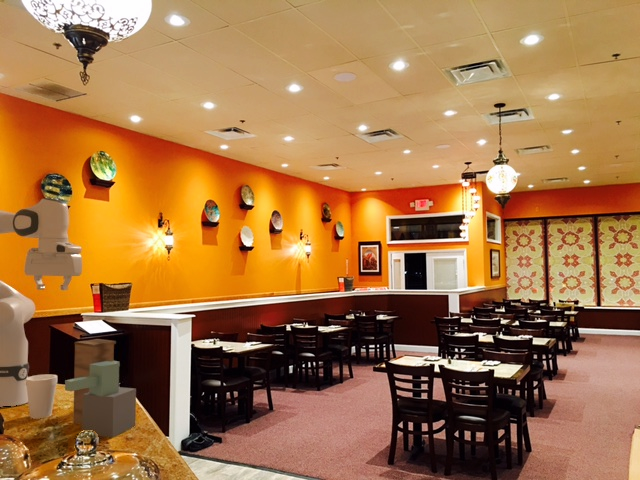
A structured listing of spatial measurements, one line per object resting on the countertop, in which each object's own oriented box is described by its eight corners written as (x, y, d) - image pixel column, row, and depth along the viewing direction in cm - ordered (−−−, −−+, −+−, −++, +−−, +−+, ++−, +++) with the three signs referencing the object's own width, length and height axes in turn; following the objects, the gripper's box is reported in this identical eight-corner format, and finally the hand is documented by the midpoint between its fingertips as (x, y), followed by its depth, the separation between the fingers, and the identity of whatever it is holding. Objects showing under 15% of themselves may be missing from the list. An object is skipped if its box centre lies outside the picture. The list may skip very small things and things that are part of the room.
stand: (91, 427, 167) (93, 344, 168) (72, 422, 172) (74, 342, 173) (114, 420, 175) (116, 341, 176) (95, 415, 180) (97, 338, 181)
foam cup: (49, 410, 186) (50, 373, 186) (61, 415, 180) (62, 377, 180) (20, 416, 179) (21, 377, 179) (31, 422, 172) (32, 381, 173)
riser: (81, 434, 161) (82, 394, 161) (106, 423, 171) (106, 386, 172) (112, 437, 158) (113, 397, 158) (135, 426, 168) (136, 388, 169)
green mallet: (73, 403, 151) (74, 371, 151) (61, 400, 154) (62, 369, 155) (122, 391, 165) (123, 362, 166) (110, 388, 168) (111, 360, 169)
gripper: (20, 247, 173) (19, 289, 172) (71, 247, 167) (70, 291, 167) (35, 247, 179) (34, 288, 178) (85, 247, 173) (84, 290, 173)
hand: (52, 289), depth 173 cm, fingers open, 8 cm apart
